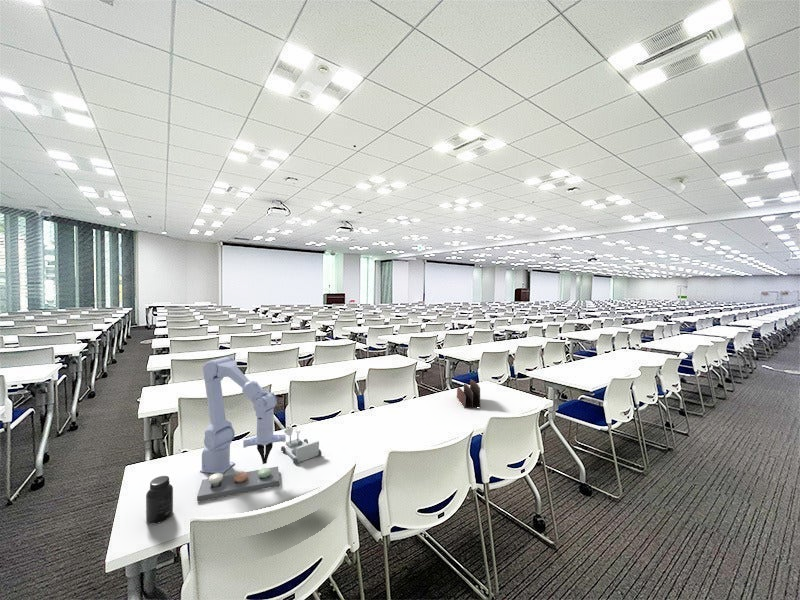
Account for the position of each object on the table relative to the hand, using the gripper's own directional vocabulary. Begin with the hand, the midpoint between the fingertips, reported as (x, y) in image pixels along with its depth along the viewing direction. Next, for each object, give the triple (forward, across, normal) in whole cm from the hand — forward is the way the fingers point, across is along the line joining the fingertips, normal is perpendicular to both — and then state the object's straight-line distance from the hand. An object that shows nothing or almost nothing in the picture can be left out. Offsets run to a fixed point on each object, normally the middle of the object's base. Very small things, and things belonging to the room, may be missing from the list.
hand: (264, 462), depth 123 cm
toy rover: (+8, +14, +17) cm, 24 cm away
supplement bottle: (+8, -30, -9) cm, 33 cm away
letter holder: (+7, +122, +46) cm, 131 cm away
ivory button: (+5, -16, 0) cm, 17 cm away
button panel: (+7, -8, 0) cm, 11 cm away
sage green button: (+7, 0, 0) cm, 7 cm away
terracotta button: (+7, -8, 0) cm, 10 cm away
